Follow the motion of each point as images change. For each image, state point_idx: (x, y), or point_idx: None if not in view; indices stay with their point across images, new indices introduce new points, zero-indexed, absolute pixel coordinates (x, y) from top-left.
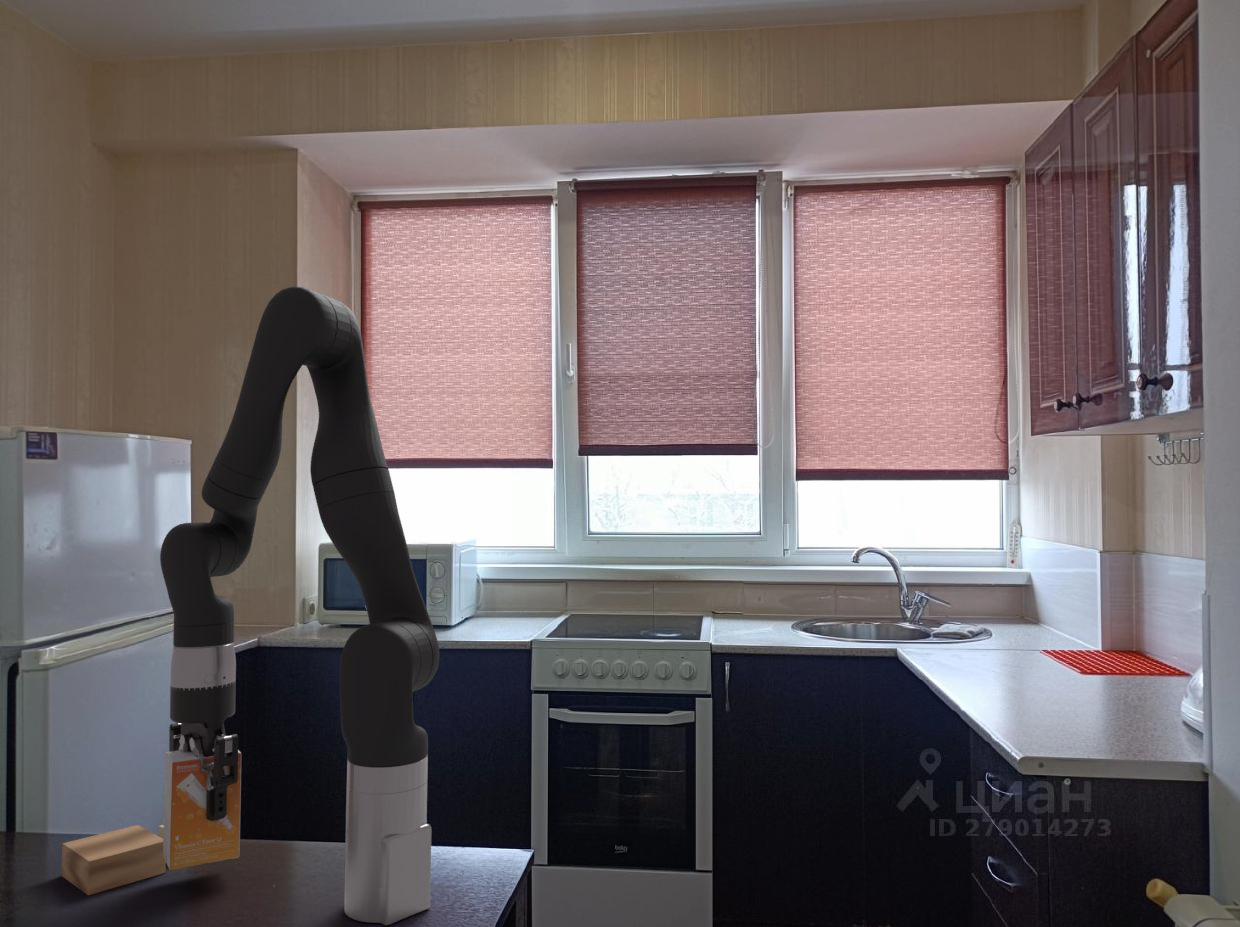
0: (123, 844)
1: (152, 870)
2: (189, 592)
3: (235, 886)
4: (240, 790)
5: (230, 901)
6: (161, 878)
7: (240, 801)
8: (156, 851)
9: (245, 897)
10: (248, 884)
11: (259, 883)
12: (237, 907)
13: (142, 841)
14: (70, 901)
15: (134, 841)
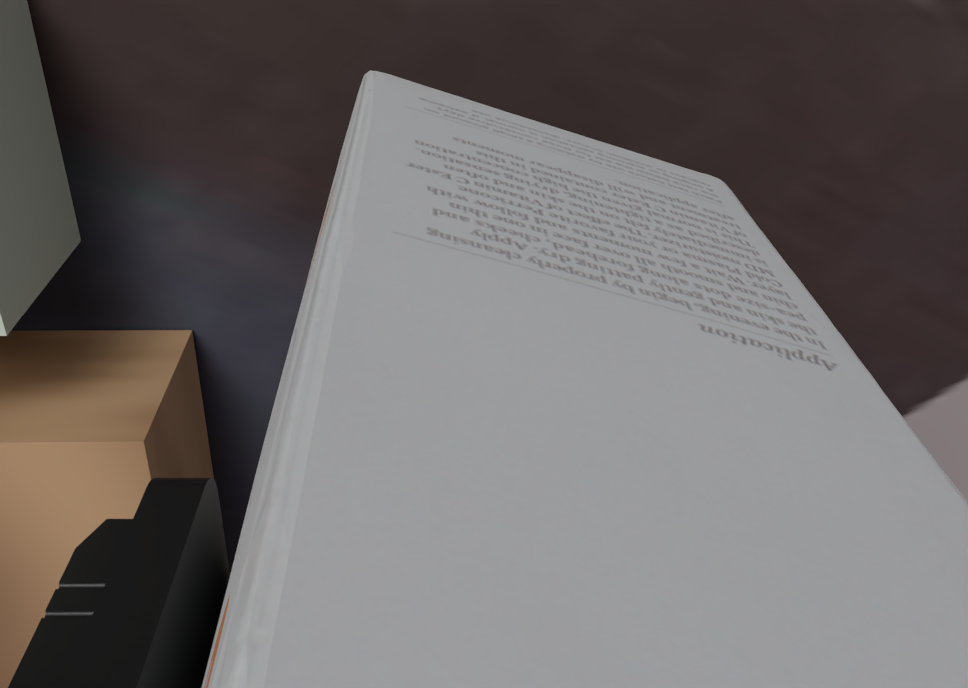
0: (32, 612)
1: (195, 413)
2: None
3: (711, 162)
4: (954, 489)
5: (860, 272)
6: (261, 371)
7: (885, 399)
8: (165, 460)
9: (893, 198)
10: (754, 96)
11: (802, 41)
12: (955, 282)
13: (46, 533)
14: None
15: (11, 560)
